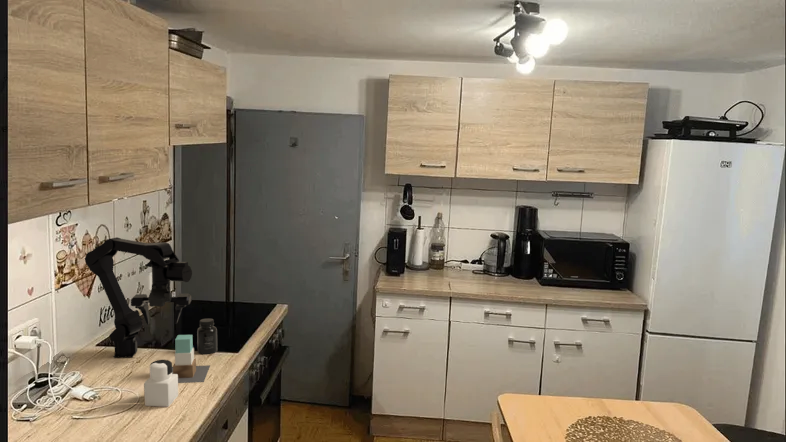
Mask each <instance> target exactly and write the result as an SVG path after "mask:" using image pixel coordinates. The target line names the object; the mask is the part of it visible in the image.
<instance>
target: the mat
mask: <svg viewBox="0 0 786 442" xmlns="http://www.w3.org/2000/svg"><path fill="white" fill-rule="evenodd" d="M210 367H211V365H196V372H195V374H194V376H193V377H192V378H178V384H186V383H187V384H188V383H189V384H191V383H194V384H195V383H204V382H205V380H206V377H207V375H208V372H209V370H210ZM172 374H173V366H172Z"/></svg>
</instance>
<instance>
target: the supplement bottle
mask: <svg viewBox="0 0 786 442" xmlns="http://www.w3.org/2000/svg"><path fill="white" fill-rule="evenodd" d="M214 321H215V320H214V319H213V318H202V319H200V320H199V327H198V328H197V331H196V333H197V334H196V336H197V342H196V344H197V354H200V355H203V356H205V355H212V354H215V353H216V352H218V329H217V327H216V326H214V325H215V322H214Z"/></svg>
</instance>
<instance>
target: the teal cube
mask: <svg viewBox="0 0 786 442" xmlns="http://www.w3.org/2000/svg"><path fill="white" fill-rule="evenodd" d="M193 337H194V336H193V334H178V335H177V336H176V338H175V340H174V341H175V342H174V343H175V344H174V345H175V347H174V349H175V352H174V354H175V353H190V352H191V350H192V348H194V345H193Z"/></svg>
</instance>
